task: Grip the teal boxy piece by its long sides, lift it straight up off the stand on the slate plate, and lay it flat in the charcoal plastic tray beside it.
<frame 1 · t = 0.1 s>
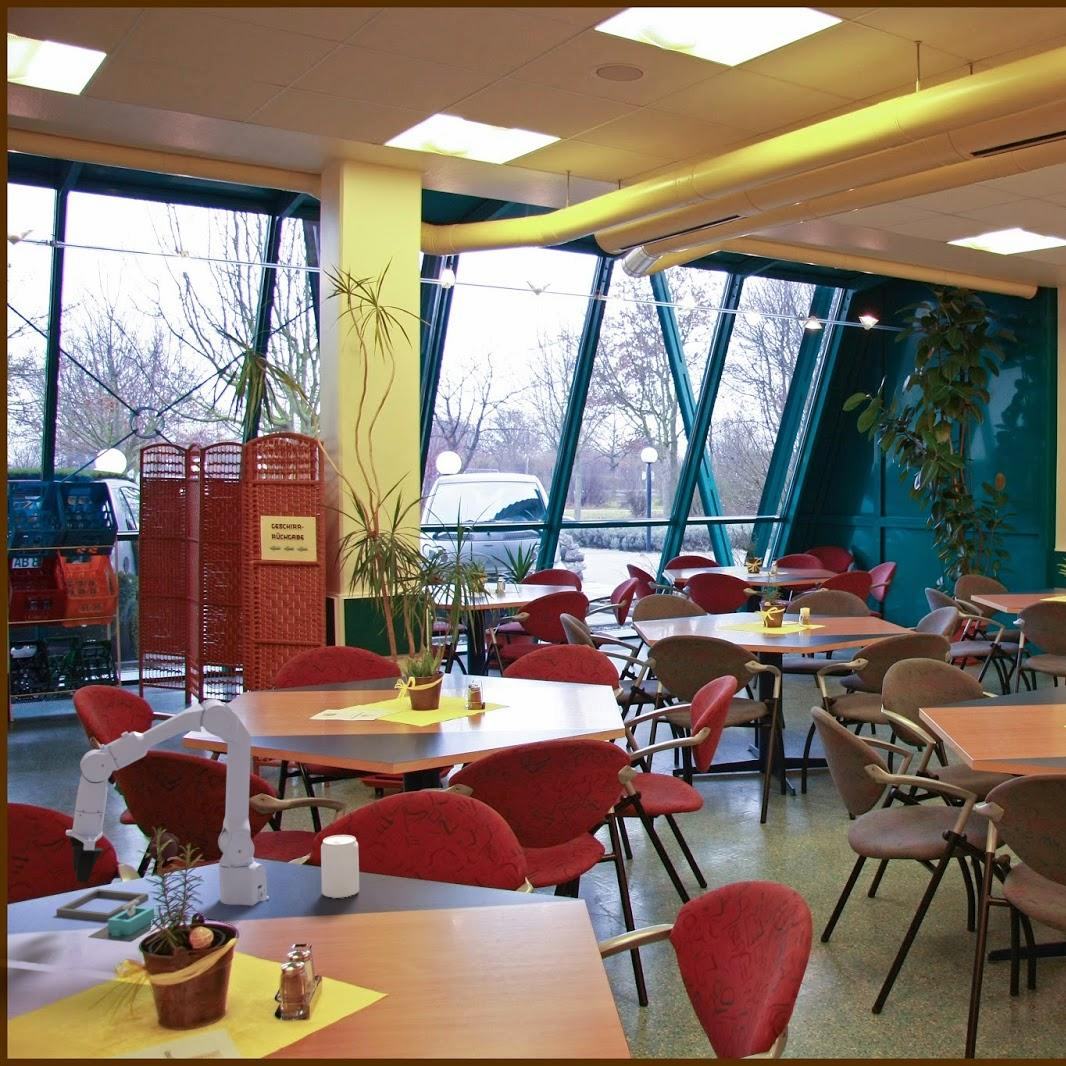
hand: (80, 876, 235), 10 cm above the table, tool pointing down, fingers open, 7 cm apart
teal boxy piece: (131, 926, 233), point 1 cm above the table, touching stand
tray: (103, 911, 244), on the table
stand: (131, 931, 233), on the table
beverage can: (340, 894, 253), on the table
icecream: (164, 861, 279), on the table
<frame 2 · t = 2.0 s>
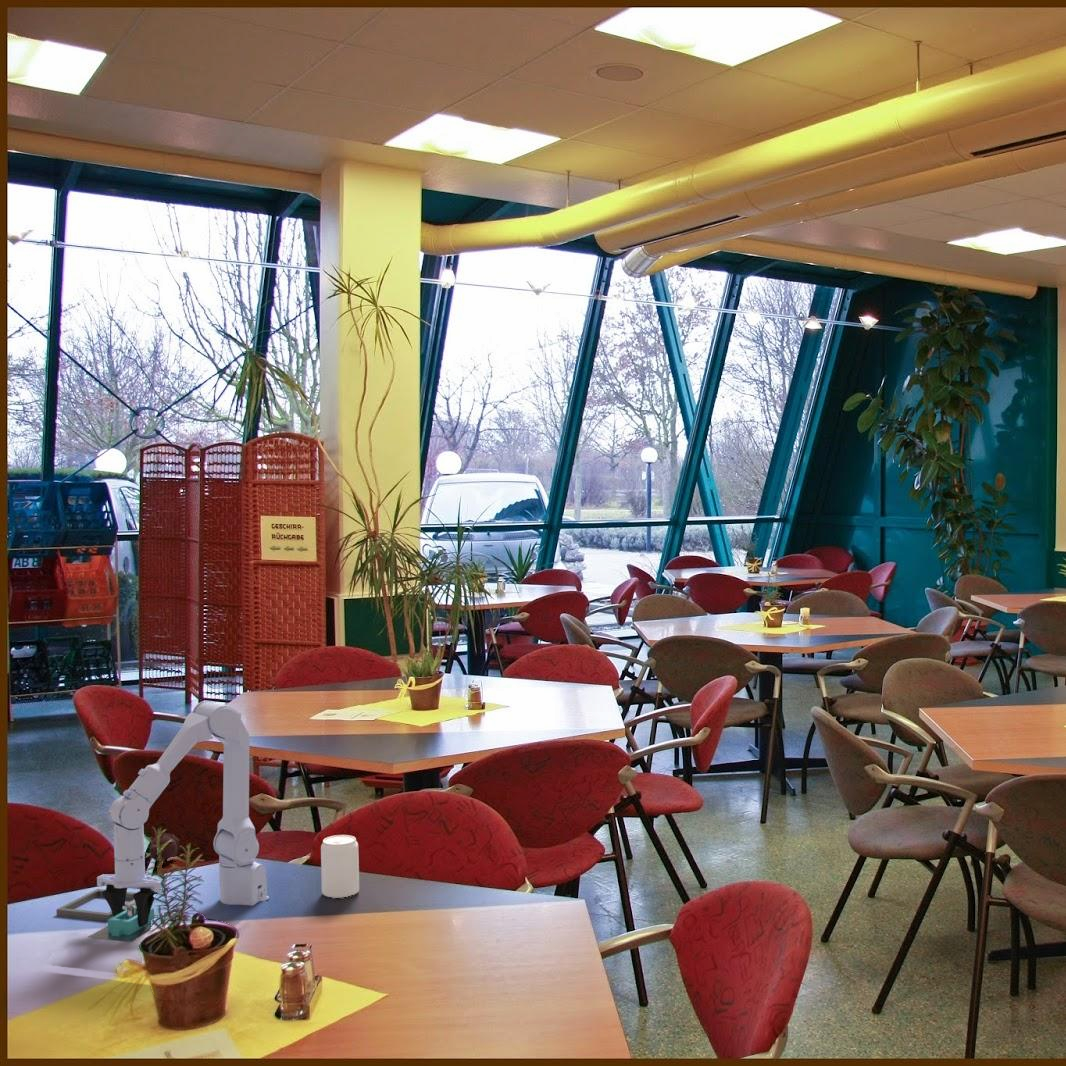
hand: (131, 923, 233), 2 cm above the table, tool pointing down, fingers closed on teal boxy piece, 5 cm apart
teal boxy piece: (131, 926, 233), point 1 cm above the table, touching gripper, stand
everything else where it was.
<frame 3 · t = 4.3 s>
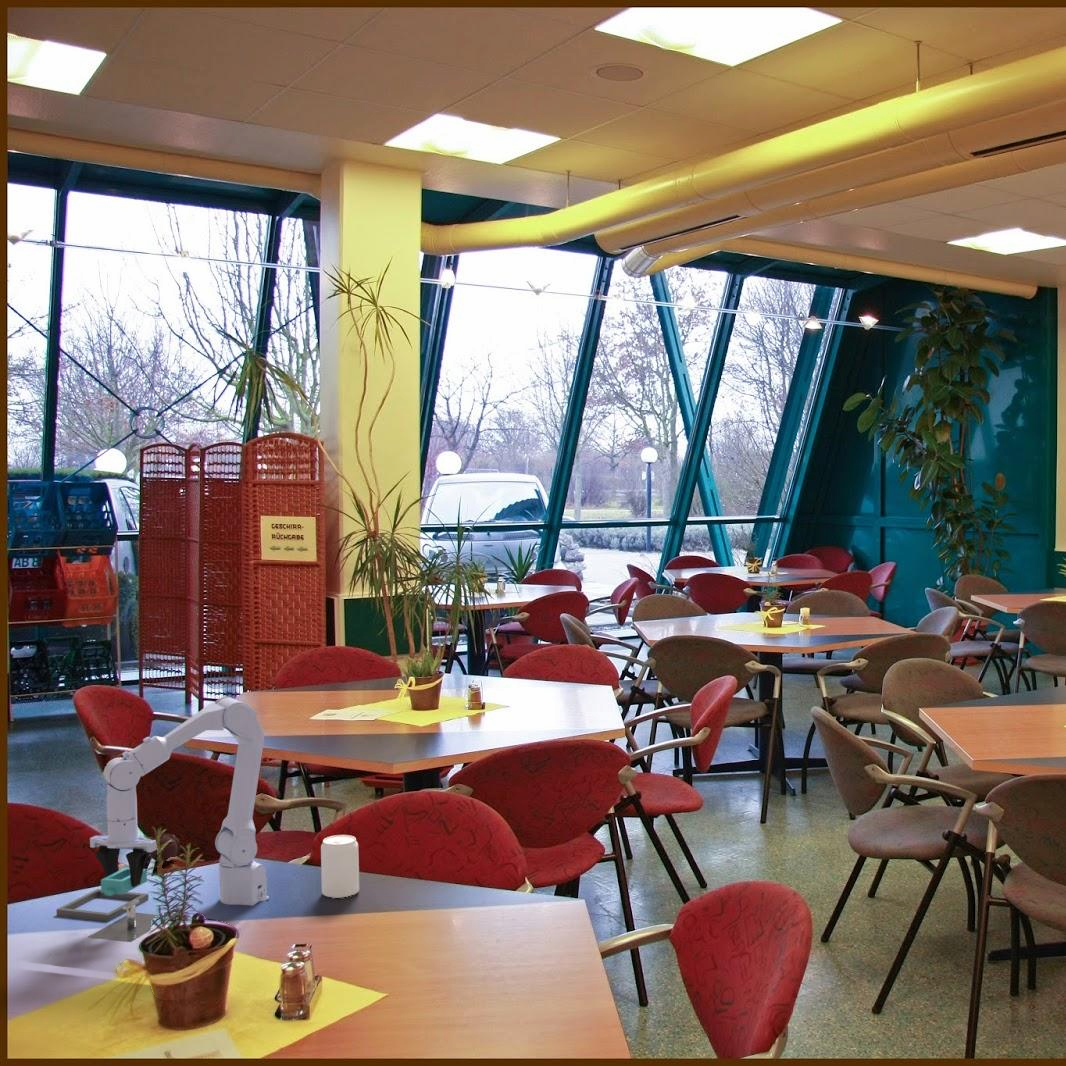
hand: (124, 884, 235), 9 cm above the table, tool pointing down, fingers closed on teal boxy piece, 5 cm apart
teal boxy piece: (124, 886, 235), point 8 cm above the table, touching gripper
everything else where it was.
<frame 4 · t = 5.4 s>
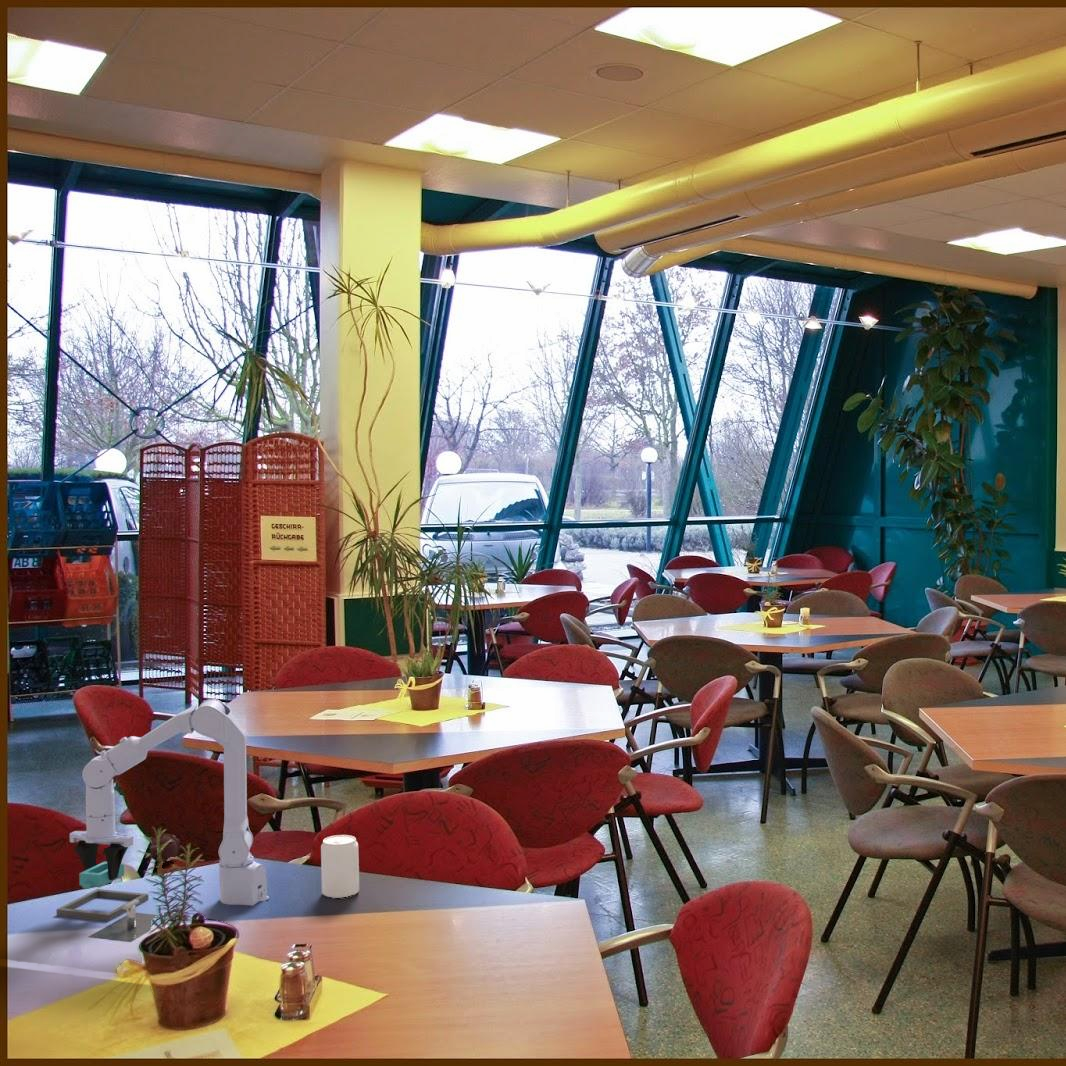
hand: (102, 877, 244), 7 cm above the table, tool pointing down, fingers closed on teal boxy piece, 5 cm apart
teal boxy piece: (102, 880, 244), point 7 cm above the table, touching gripper
everything else where it was.
when the fingers open (3 cm above the table, at t = 6.5 s): teal boxy piece drops 2 cm, resting on tray.
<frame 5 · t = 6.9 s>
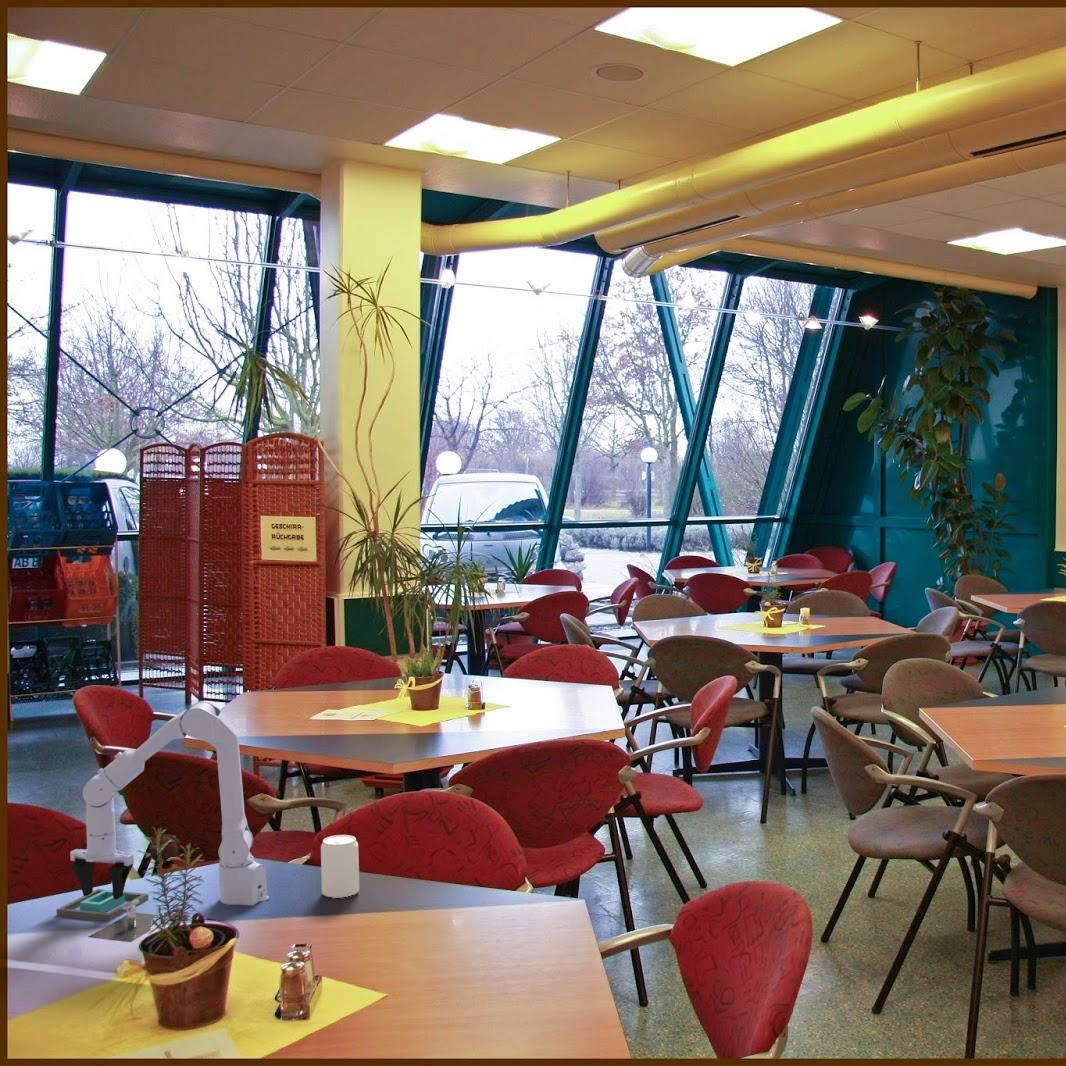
hand: (103, 896, 244), 3 cm above the table, tool pointing down, fingers open, 7 cm apart
teal boxy piece: (103, 909, 244), point 1 cm above the table, touching tray
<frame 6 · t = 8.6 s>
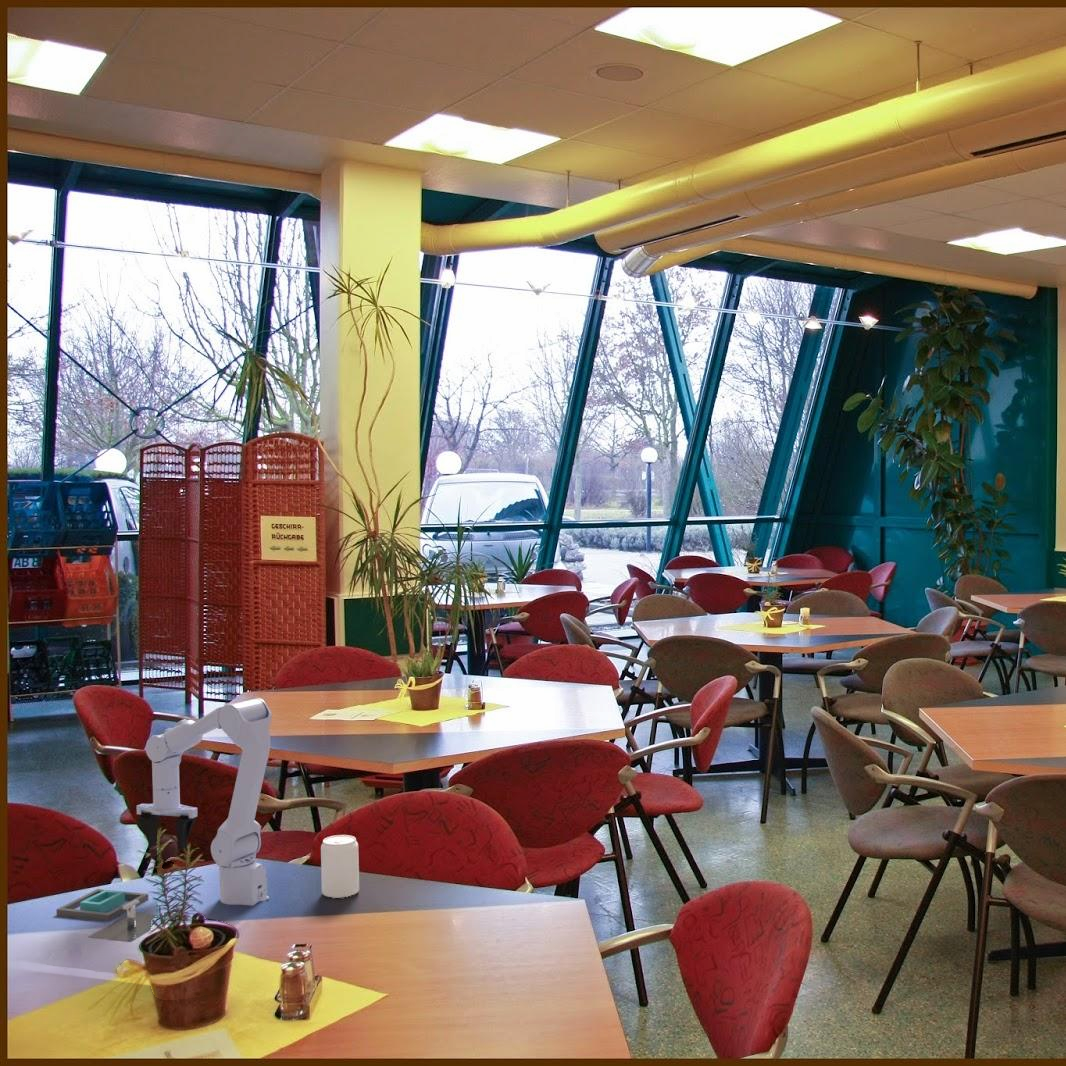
hand: (167, 847, 258), 9 cm above the table, tool pointing down, fingers open, 7 cm apart
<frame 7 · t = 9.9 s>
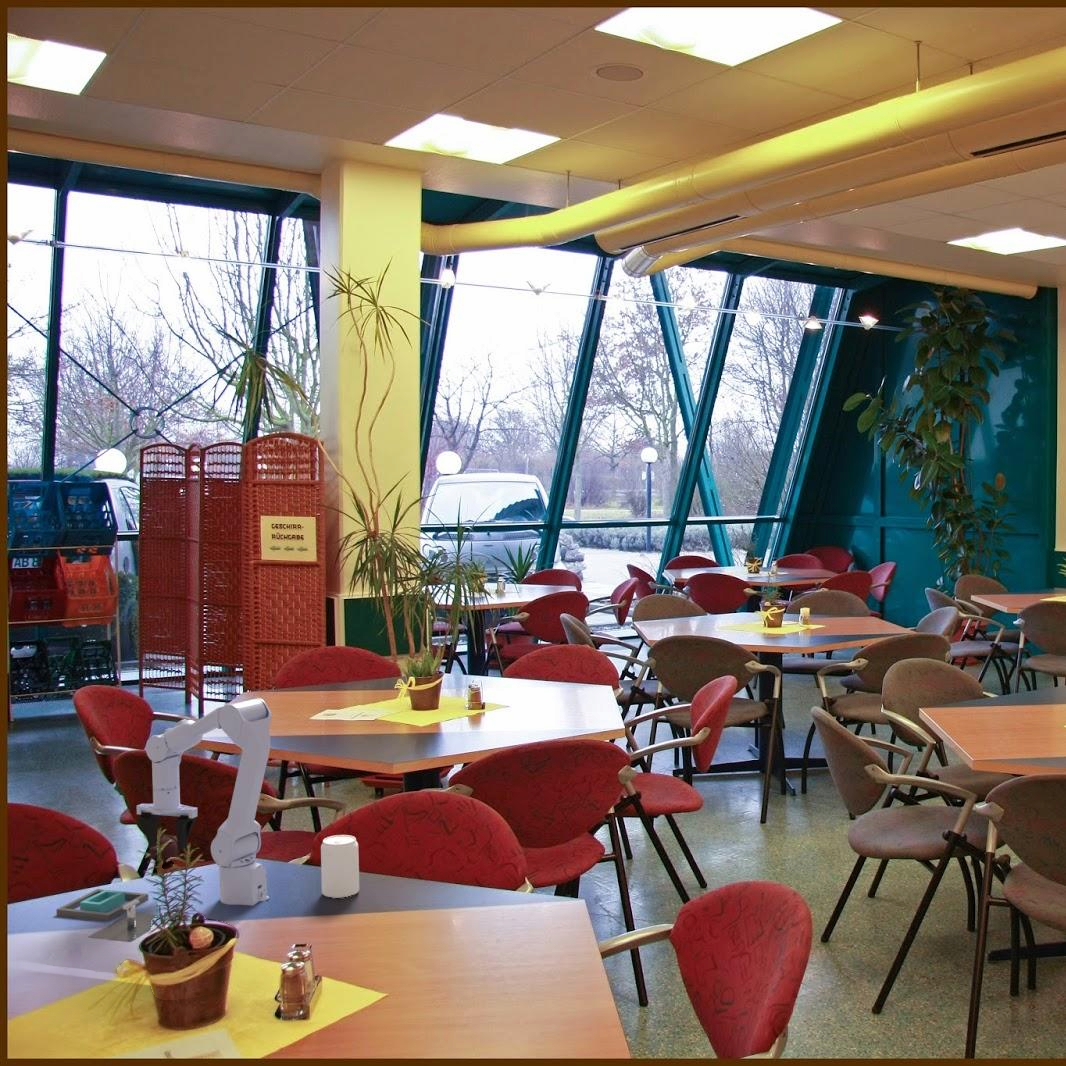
hand: (167, 847, 258), 9 cm above the table, tool pointing down, fingers open, 7 cm apart
at the end: teal boxy piece 0.1 cm off-centre on the tray, point 0.6 cm above the tray's base; teal boxy piece tilted 0°; the gripper is holding nothing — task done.
